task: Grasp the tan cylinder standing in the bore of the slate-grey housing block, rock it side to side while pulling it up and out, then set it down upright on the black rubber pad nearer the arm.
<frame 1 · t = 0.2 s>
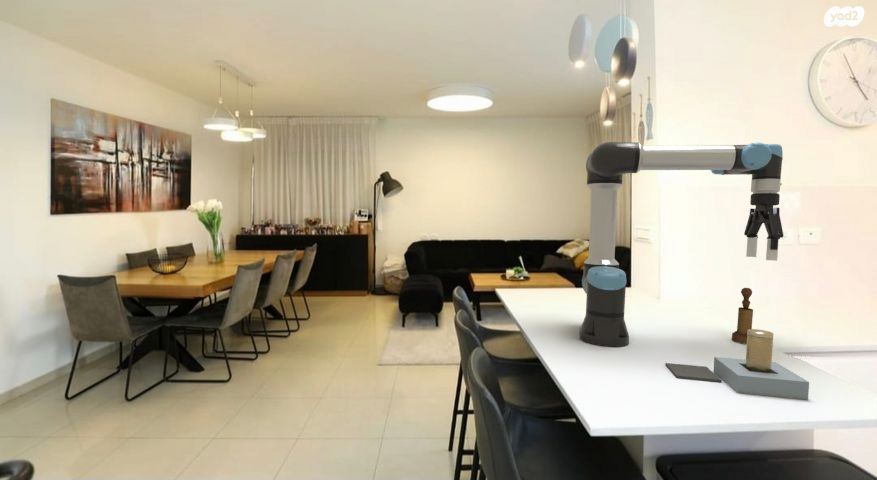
hand: (760, 258, 142), 28 cm above the kitchen counter, fingers open, 13 cm apart
tan cylinder: (758, 358, 105), in the housing
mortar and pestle: (743, 342, 144), on the kitchen counter
housing: (756, 384, 105), on the kitchen counter
rubber pad: (692, 373, 112), on the kitchen counter
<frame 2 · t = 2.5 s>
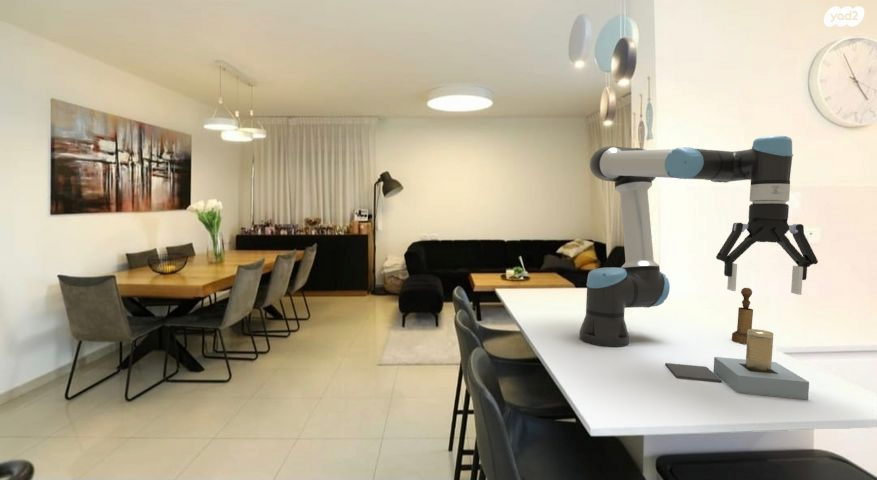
hand: (763, 292, 104), 23 cm above the kitchen counter, fingers open, 13 cm apart
nothing on the kitchen counter moved.
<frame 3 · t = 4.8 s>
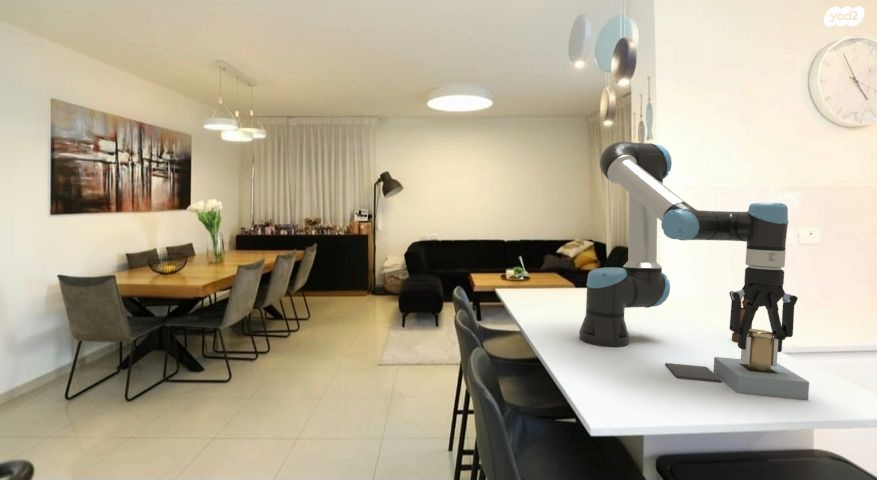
hand: (758, 363, 105), 5 cm above the kitchen counter, fingers closed on tan cylinder, 5 cm apart
tan cylinder: (758, 358, 105), in the housing, touching gripper
everything else where it was.
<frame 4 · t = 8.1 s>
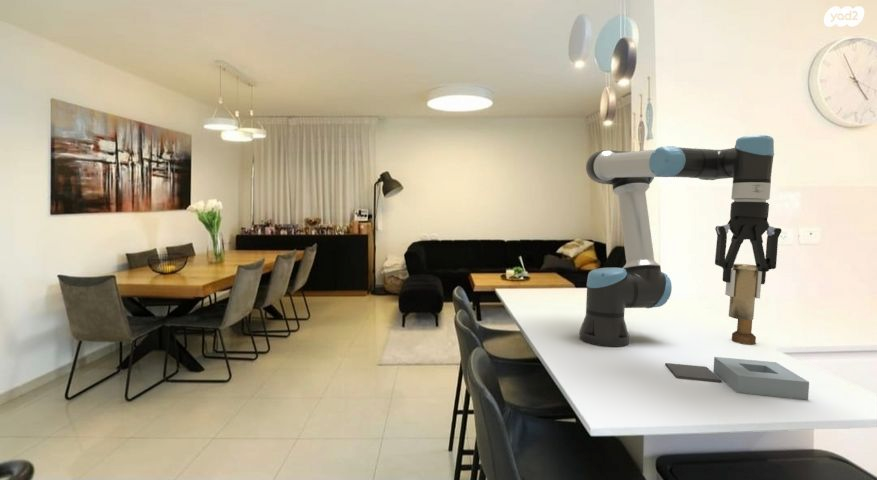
hand: (742, 296, 107), 21 cm above the kitchen counter, fingers closed on tan cylinder, 5 cm apart
tan cylinder: (742, 291, 106), point 22 cm above the kitchen counter, touching gripper
everything else where it was.
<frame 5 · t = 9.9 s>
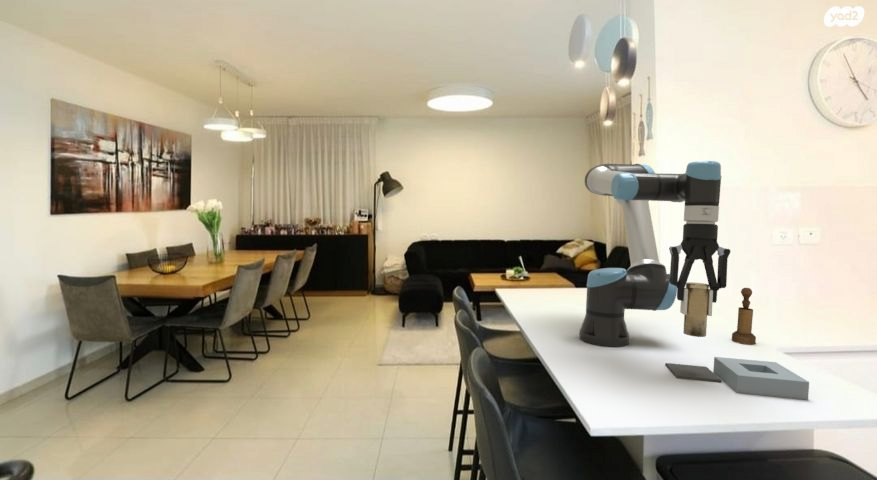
hand: (695, 313, 111), 16 cm above the kitchen counter, fingers closed on tan cylinder, 5 cm apart
tan cylinder: (696, 309, 111), point 17 cm above the kitchen counter, touching gripper
everything else where it was.
when the fingers open (7 cm above the kitchen counter, at t = 11.6 s): tan cylinder drops 1 cm, resting on rubber pad.
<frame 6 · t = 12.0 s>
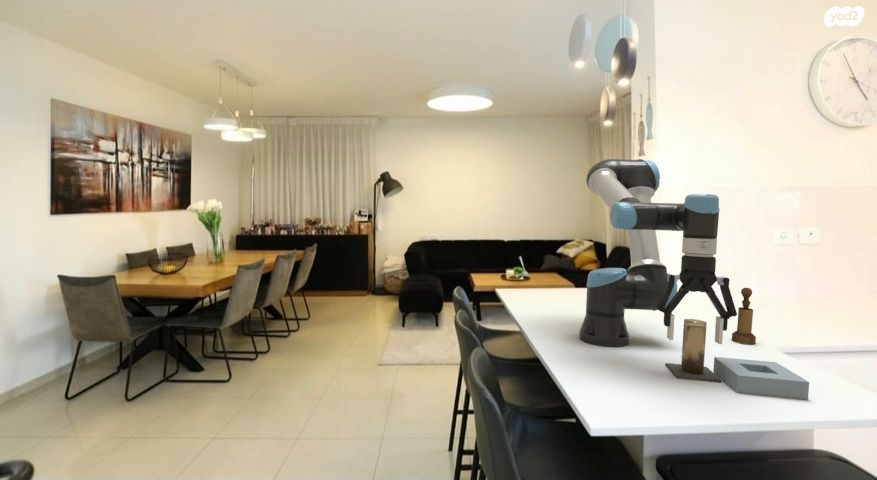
hand: (693, 340, 112), 8 cm above the kitchen counter, fingers open, 10 cm apart
tan cylinder: (693, 346, 112), on the rubber pad, point 7 cm above the kitchen counter
everything else where it was.
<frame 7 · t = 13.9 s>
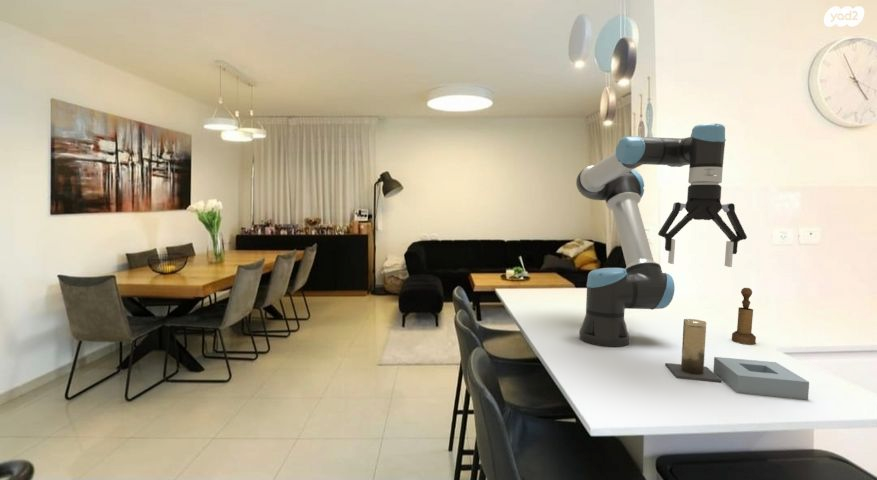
hand: (699, 264, 116), 28 cm above the kitchen counter, fingers open, 13 cm apart
nothing on the kitchen counter moved.
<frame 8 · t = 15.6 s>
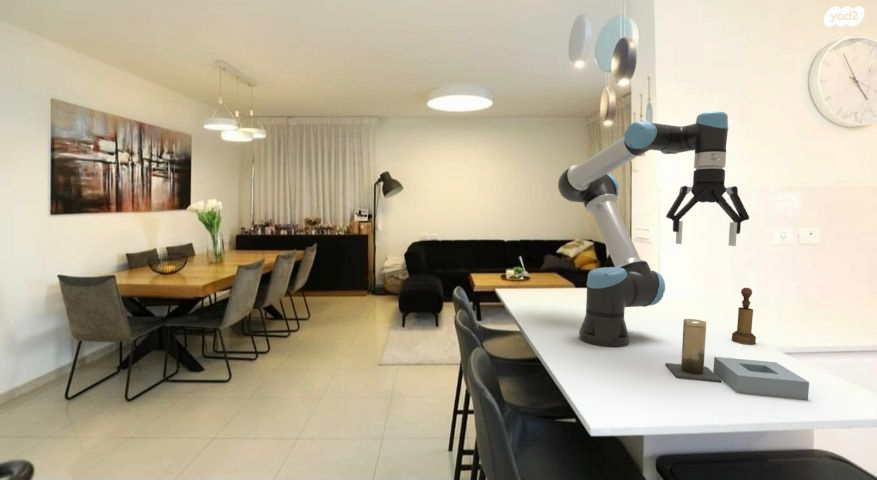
hand: (704, 244, 123), 33 cm above the kitchen counter, fingers open, 13 cm apart
nothing on the kitchen counter moved.
at the end: tan cylinder inside the target area on the rubber pad (0.0 cm from its centre), point 7.1 cm above the rubber pad's base; tan cylinder tilted 0°; the gripper is holding nothing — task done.
